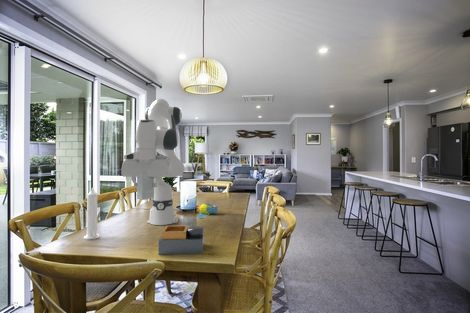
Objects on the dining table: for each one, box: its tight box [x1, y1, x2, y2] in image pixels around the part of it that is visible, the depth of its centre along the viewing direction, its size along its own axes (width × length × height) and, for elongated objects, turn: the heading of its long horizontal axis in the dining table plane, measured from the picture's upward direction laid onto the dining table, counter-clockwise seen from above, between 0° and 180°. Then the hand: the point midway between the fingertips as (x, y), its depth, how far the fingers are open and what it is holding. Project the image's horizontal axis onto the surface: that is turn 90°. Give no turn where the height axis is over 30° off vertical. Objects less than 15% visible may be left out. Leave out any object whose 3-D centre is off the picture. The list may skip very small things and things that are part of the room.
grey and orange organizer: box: [158, 225, 205, 256], centre depth 112 cm, size 12×18×9 cm, turn 95°
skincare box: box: [136, 172, 154, 201], centre depth 113 cm, size 6×4×12 cm
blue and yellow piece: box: [195, 202, 219, 220], centre depth 182 cm, size 28×9×15 cm
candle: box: [83, 187, 101, 241], centre depth 127 cm, size 7×7×25 cm
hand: (145, 187), depth 113 cm, fingers closed on skincare box, 7 cm apart
